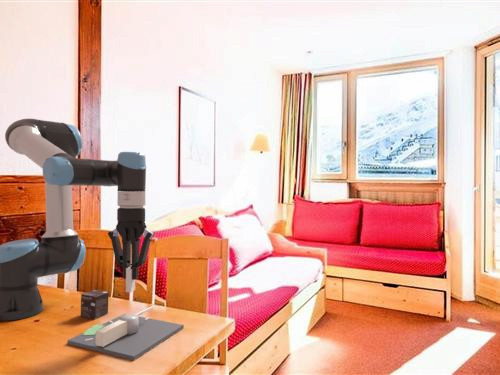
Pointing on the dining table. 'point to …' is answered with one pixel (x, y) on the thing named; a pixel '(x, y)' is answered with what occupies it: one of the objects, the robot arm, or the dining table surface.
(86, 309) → the box
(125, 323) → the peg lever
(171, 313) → the dining table surface
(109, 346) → the dial board
